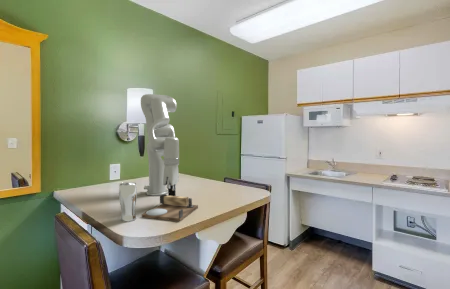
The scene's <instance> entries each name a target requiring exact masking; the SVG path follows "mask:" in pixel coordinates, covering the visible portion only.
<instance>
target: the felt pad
mask: <svg viewBox="0 0 450 289" xmlns="http://www.w3.org/2000/svg"><path fill="white" fill-rule="evenodd" d="M151 209H152V210H151ZM151 209H150V210H147V211H146V212H145V213H146V214H147V215H151V216H157V215H163V214H165V213H167V210H166V209H153V208H151Z"/></svg>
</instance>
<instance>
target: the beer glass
mask: <svg viewBox="0 0 450 289" xmlns="http://www.w3.org/2000/svg"><path fill="white" fill-rule="evenodd" d="M137 191H138V189H137V182H133V181H128V182H127V181H126V182H122V183H119V184H118V199H119V200H118V201H119V205H120V209H121V210H120V211H121V214H120V222H123V221H129V222H133V221H135V220H137V215H136V205H137V198H138V192H137Z"/></svg>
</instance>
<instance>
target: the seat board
mask: <svg viewBox="0 0 450 289" xmlns="http://www.w3.org/2000/svg"><path fill="white" fill-rule="evenodd" d="M198 208H199V205H198V204H193V199H192V197H190V198H189V197H188V205H187V206H182V205H171V204H159V205H157V206H155V207H152V208H151V209H150V210H152V209H166V210H167V213H165V214H163V215H157V216H151V215H147V214H146V212H144V213H142V214H141V218H144V219H145V218H146V219H154V220H163V221H164V220H165V221H171V222H182V221H183V220H184V219H186V218H187V217H188V216H190V215H191V214H192V213H193V212H195V210H197V209H198Z"/></svg>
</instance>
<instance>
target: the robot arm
mask: <svg viewBox="0 0 450 289" xmlns="http://www.w3.org/2000/svg"><path fill="white" fill-rule="evenodd" d="M140 108H141V110H142V113H143V116H144V118H145V123H146V132H147V133H146V134H147V138H148V142H147V144H146V151H147V157H148V185H144V187H143V189H144V190H146V193H145V194H146V195H147V196H153V197H154V196H156V197H157V196H160V195H163V194H165V195H167V194H168V196H177V193H176V187H177V183H178V182H179V180H180V179H179V177H180V176H179V165H180V140H179V138H178V137H176V132H175V128H174V126H173V125H172V124H170V121H171V119H170V116H169V113H175V112H176V111H177V108H178V104H177V102H176V99H174V97H172V96H170V95H167V94H154V93H145V94H143V95H141V97H140ZM162 157H163V158H162Z"/></svg>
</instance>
